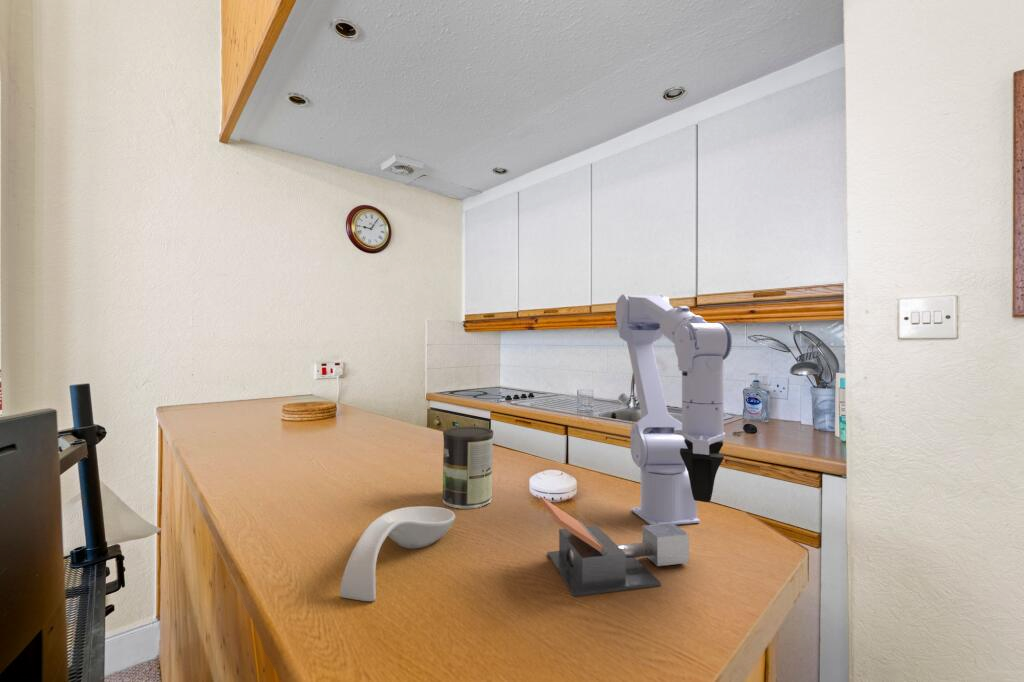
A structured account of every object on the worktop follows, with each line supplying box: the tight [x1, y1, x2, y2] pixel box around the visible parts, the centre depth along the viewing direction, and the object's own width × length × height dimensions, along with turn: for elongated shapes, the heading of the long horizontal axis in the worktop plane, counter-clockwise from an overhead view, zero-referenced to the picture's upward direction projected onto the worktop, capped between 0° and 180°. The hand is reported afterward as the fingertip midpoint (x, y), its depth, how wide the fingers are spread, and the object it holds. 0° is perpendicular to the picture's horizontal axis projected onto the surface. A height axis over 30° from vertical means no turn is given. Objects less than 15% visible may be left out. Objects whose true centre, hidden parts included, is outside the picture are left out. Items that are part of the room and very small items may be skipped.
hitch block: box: [546, 525, 662, 598], centre depth 58 cm, size 12×11×4 cm
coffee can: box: [441, 426, 494, 510], centre depth 86 cm, size 10×10×14 cm
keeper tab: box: [538, 496, 608, 556], centre depth 58 cm, size 8×9×1 cm
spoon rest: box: [339, 505, 456, 602], centre depth 62 cm, size 24×12×7 cm, turn 169°
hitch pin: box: [569, 523, 690, 567], centre depth 59 cm, size 17×4×4 cm, turn 103°
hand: (702, 492), depth 63 cm, fingers open, 7 cm apart
